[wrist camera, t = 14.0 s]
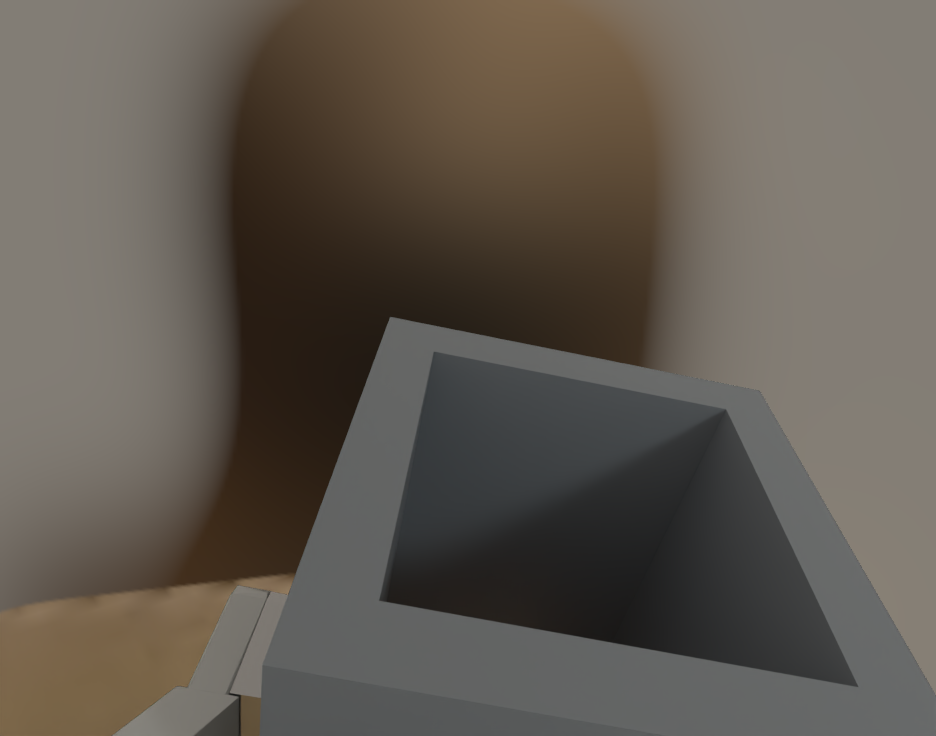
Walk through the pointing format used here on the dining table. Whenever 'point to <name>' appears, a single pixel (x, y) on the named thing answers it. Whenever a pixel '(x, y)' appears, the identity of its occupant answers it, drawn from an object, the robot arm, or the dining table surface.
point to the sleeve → (576, 564)
